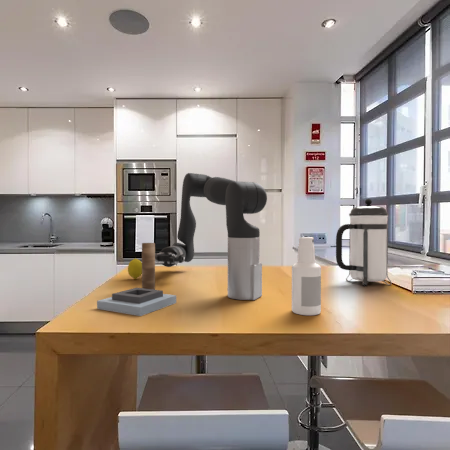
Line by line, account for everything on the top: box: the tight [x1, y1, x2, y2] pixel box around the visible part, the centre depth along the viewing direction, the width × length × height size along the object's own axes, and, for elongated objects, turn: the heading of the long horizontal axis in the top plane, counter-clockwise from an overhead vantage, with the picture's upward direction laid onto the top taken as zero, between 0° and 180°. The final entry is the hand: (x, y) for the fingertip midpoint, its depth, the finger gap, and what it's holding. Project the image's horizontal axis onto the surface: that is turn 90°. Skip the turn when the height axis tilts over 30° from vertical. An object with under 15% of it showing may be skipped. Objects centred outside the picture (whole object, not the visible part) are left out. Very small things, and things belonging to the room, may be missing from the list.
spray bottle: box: [291, 236, 322, 316], centre depth 80 cm, size 7×7×18 cm
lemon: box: [127, 257, 142, 280], centre depth 125 cm, size 6×6×8 cm
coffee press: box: [335, 198, 392, 287], centre depth 117 cm, size 17×16×30 cm
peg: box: [141, 242, 156, 290], centre depth 104 cm, size 4×4×15 cm
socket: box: [96, 287, 177, 317], centre depth 85 cm, size 14×14×4 cm
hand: (158, 260), depth 113 cm, fingers open, 8 cm apart
